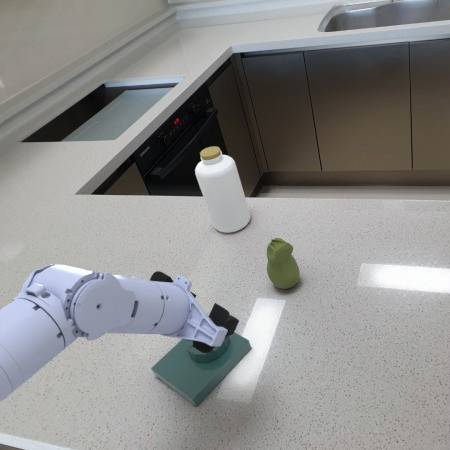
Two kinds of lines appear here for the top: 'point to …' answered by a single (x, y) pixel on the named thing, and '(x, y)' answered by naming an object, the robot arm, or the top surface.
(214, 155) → the white bottle
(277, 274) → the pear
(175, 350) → the green socket base
